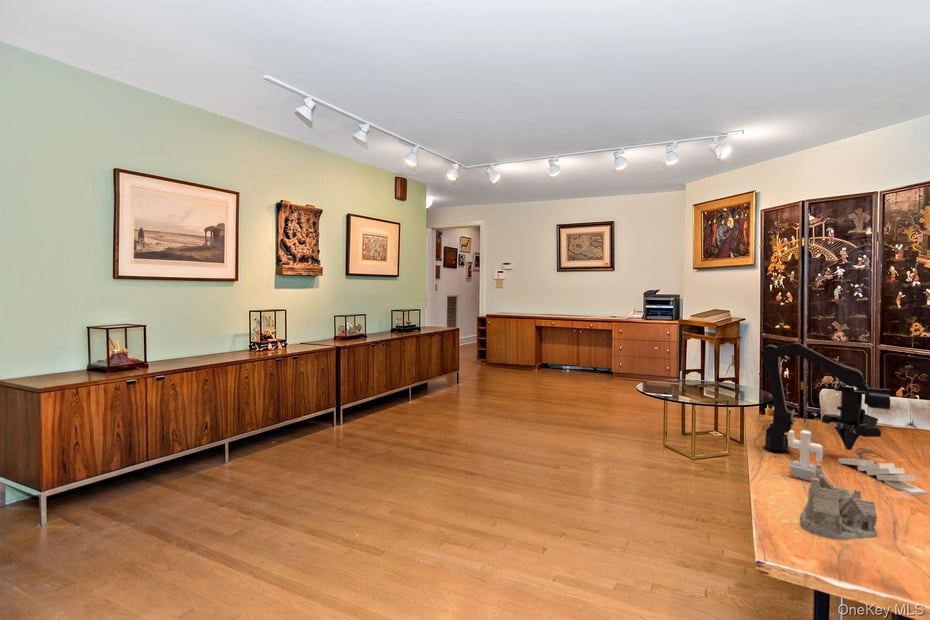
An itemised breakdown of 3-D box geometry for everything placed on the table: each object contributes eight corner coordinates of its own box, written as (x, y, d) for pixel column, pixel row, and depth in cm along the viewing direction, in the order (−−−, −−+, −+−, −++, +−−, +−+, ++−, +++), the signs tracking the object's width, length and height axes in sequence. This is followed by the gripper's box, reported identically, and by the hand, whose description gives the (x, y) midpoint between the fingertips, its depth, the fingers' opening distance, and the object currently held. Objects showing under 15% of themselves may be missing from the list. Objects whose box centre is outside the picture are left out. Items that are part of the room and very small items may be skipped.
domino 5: (884, 485, 157) (911, 497, 148) (884, 480, 157) (911, 492, 148) (899, 485, 157) (927, 497, 148) (899, 480, 157) (927, 491, 148)
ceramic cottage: (792, 527, 126) (800, 469, 126) (806, 509, 138) (813, 456, 137) (871, 554, 116) (880, 491, 115) (878, 533, 127) (886, 475, 127)
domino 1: (839, 463, 175) (860, 465, 166) (838, 458, 175) (859, 460, 166) (852, 463, 175) (874, 465, 166) (852, 458, 175) (873, 460, 166)
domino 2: (858, 471, 167) (880, 468, 159) (857, 466, 167) (878, 463, 159) (873, 471, 167) (895, 468, 159) (871, 466, 168) (893, 463, 159)
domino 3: (867, 475, 163) (889, 473, 155) (866, 470, 164) (888, 468, 155) (882, 475, 163) (905, 473, 155) (881, 470, 164) (904, 468, 155)
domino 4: (877, 479, 159) (899, 480, 151) (876, 474, 160) (897, 475, 151) (893, 479, 159) (916, 480, 150) (892, 474, 159) (915, 475, 151)
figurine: (818, 484, 155) (821, 436, 154) (783, 475, 162) (785, 430, 161) (824, 478, 160) (826, 432, 159) (789, 470, 167) (791, 426, 166)
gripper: (898, 411, 164) (895, 458, 165) (850, 399, 183) (848, 441, 183) (865, 411, 163) (863, 458, 164) (821, 399, 182) (819, 441, 183)
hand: (848, 449), depth 174 cm, fingers closed
